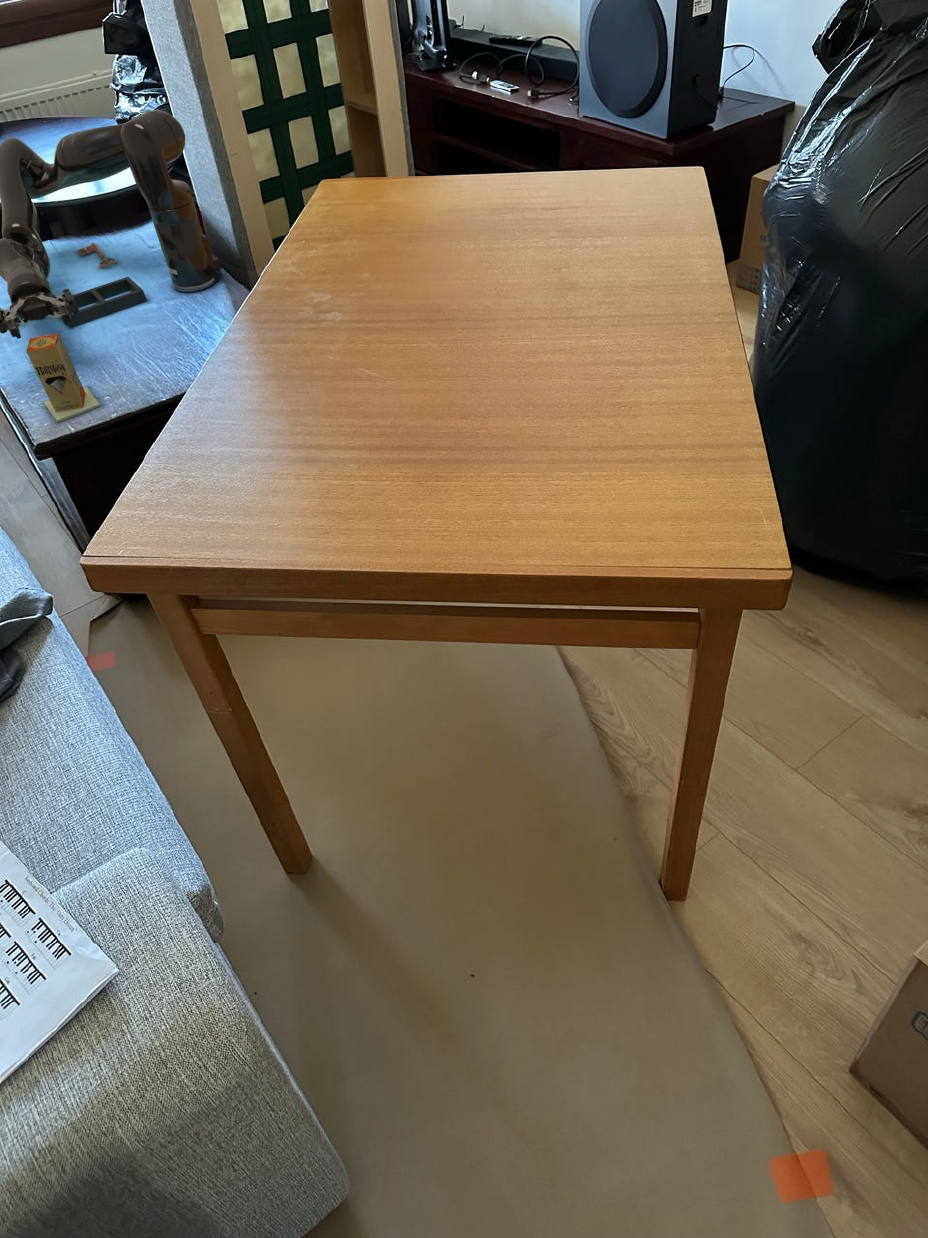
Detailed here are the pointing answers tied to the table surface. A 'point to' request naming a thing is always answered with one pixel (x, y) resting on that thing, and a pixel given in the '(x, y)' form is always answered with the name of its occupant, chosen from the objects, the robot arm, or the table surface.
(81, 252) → the key
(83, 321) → the holder
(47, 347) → the shoe polish box
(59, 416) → the mat
